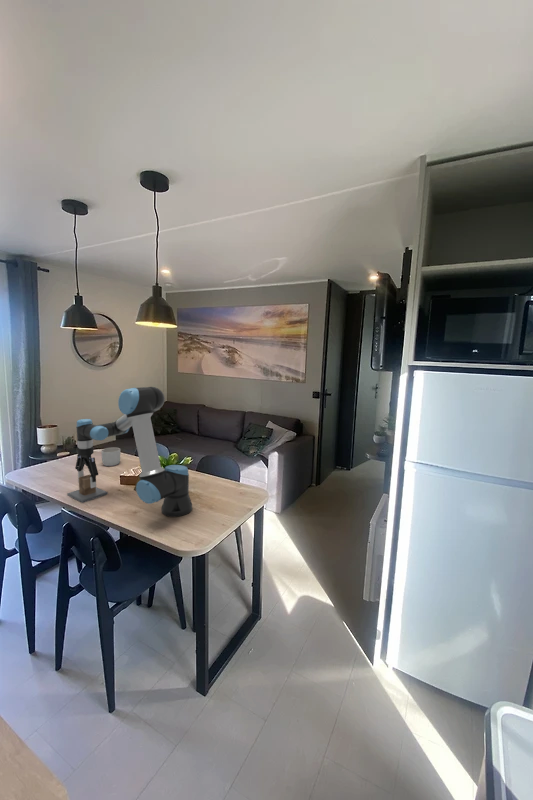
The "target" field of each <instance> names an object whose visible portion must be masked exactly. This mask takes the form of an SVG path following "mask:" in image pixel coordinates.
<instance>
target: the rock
mask: <svg viewBox="0 0 533 800" xmlns="http://www.w3.org/2000/svg"><path fill="white" fill-rule="evenodd" d="M140 474H141V473H140ZM140 474H138V476H137V480H136V482H135V485H134V488H133V491H136V486H137V483H138V482H139V481H140V478H139V475H140Z"/></svg>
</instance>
